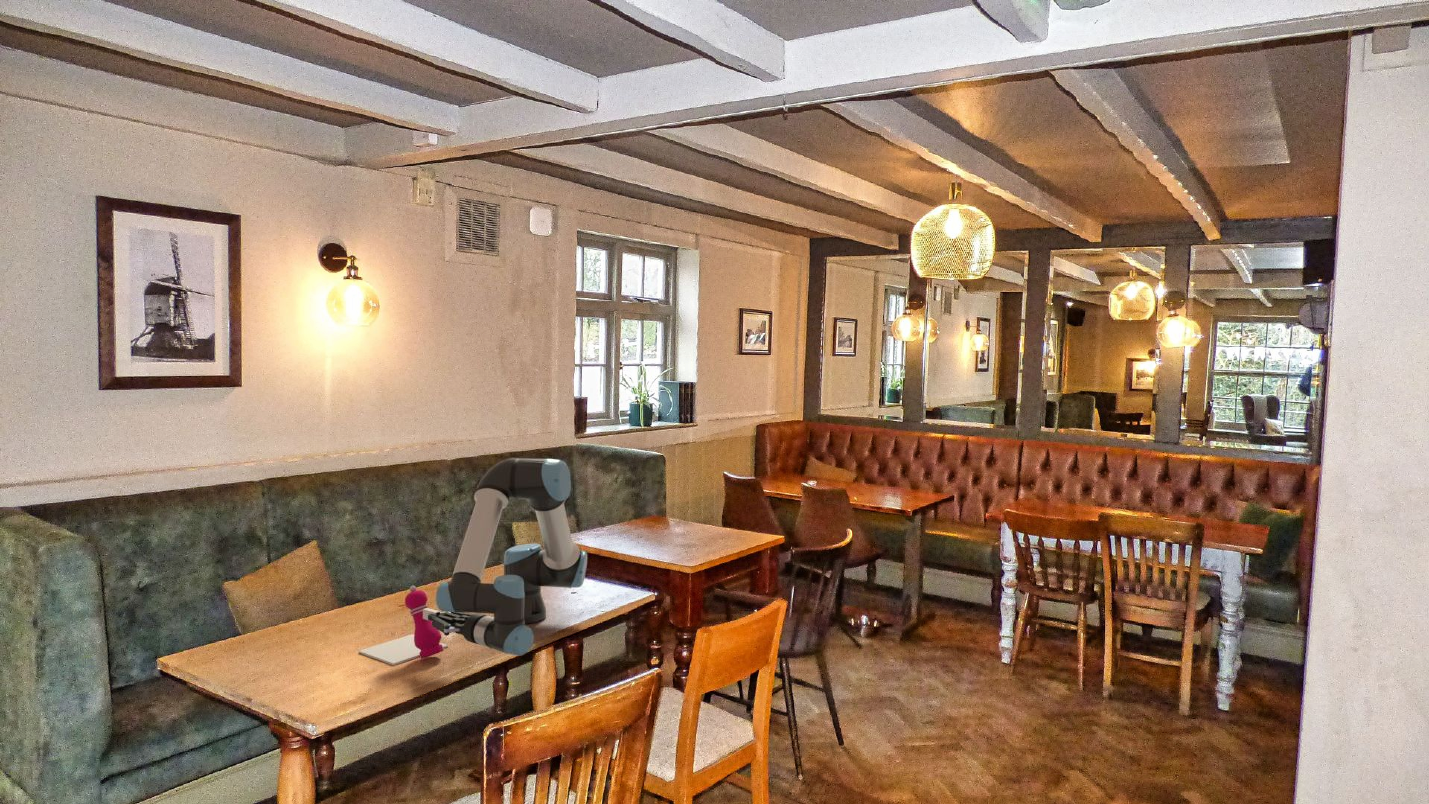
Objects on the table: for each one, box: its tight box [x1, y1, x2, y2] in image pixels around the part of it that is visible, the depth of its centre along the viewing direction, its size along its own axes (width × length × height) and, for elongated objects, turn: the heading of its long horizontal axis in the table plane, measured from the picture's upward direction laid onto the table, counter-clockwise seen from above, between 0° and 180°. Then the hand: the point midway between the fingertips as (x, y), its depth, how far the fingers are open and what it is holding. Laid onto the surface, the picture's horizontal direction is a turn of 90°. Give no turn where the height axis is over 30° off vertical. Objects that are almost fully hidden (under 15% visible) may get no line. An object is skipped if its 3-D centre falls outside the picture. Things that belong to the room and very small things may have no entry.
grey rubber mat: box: [358, 633, 448, 666], centre depth 244 cm, size 16×18×1 cm
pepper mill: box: [404, 585, 444, 660], centre depth 239 cm, size 7×7×20 cm
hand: (425, 613), depth 237 cm, fingers closed
